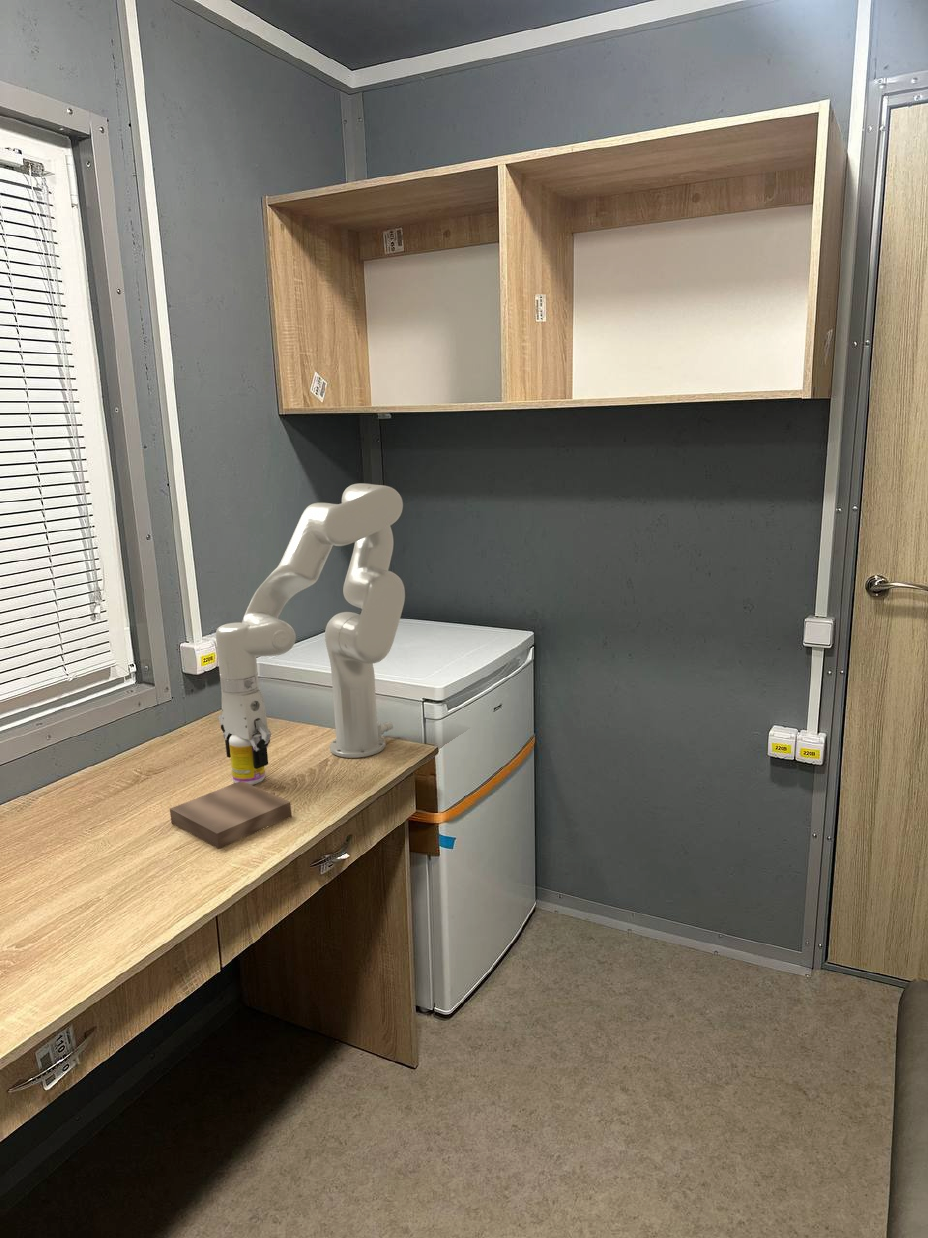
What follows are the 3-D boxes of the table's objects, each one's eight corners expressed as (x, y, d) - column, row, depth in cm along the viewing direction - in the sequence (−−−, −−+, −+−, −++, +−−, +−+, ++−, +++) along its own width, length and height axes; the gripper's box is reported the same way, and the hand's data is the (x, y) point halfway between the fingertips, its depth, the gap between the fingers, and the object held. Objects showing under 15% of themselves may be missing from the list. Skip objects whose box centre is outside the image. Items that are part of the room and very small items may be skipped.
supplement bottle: (257, 787, 180) (251, 729, 177) (227, 786, 181) (221, 727, 178) (270, 774, 186) (265, 717, 183) (241, 773, 188) (236, 716, 185)
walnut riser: (242, 794, 177) (241, 780, 176) (291, 816, 166) (290, 802, 166) (171, 823, 165) (169, 808, 165) (218, 849, 155) (217, 833, 154)
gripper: (280, 686, 176) (287, 765, 180) (231, 671, 187) (238, 746, 191) (248, 696, 170) (256, 777, 174) (200, 680, 182) (208, 757, 186)
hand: (247, 761), depth 183 cm, fingers open, 9 cm apart
